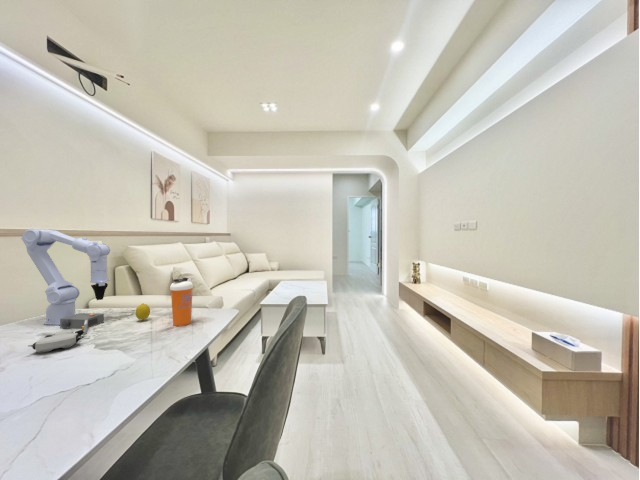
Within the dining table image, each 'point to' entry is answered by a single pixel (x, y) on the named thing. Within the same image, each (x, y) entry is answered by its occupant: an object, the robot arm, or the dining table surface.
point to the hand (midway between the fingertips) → (99, 299)
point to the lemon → (142, 311)
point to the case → (81, 320)
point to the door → (85, 326)
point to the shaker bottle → (181, 301)
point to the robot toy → (58, 340)
